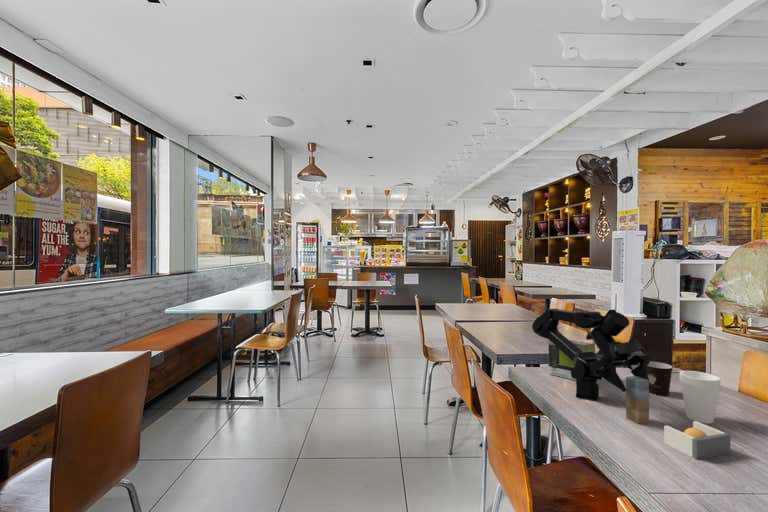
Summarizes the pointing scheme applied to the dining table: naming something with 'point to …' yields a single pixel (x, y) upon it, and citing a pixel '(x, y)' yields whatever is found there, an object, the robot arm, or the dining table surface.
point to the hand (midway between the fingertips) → (637, 389)
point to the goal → (698, 441)
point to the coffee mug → (659, 378)
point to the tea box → (566, 358)
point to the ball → (695, 432)
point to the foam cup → (700, 395)
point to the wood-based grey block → (637, 399)
